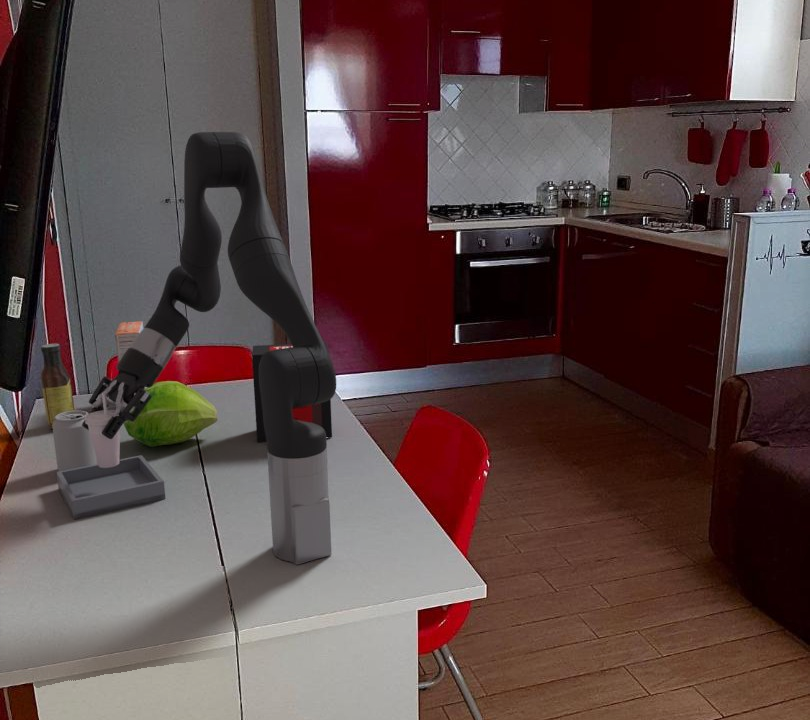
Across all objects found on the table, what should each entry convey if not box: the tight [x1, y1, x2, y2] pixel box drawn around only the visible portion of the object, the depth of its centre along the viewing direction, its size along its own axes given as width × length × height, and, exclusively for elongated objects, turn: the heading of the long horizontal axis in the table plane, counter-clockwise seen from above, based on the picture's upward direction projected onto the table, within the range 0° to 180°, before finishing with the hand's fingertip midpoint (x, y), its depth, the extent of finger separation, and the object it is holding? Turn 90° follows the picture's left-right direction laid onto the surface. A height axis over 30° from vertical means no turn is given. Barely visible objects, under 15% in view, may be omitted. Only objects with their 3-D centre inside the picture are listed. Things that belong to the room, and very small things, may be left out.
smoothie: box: [85, 392, 121, 468], centre depth 149 cm, size 6×6×14 cm
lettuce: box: [122, 380, 219, 448], centre depth 178 cm, size 15×20×14 cm
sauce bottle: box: [40, 343, 76, 430], centre depth 188 cm, size 7×6×20 cm
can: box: [52, 410, 98, 472], centre depth 163 cm, size 8×8×12 cm
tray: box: [56, 454, 166, 520], centre depth 152 cm, size 16×16×4 cm
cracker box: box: [114, 320, 147, 389], centre depth 203 cm, size 14×6×21 cm, turn 14°
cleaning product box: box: [251, 341, 333, 444], centre depth 182 cm, size 16×9×20 cm, turn 99°
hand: (96, 432), depth 148 cm, fingers closed on smoothie, 6 cm apart
